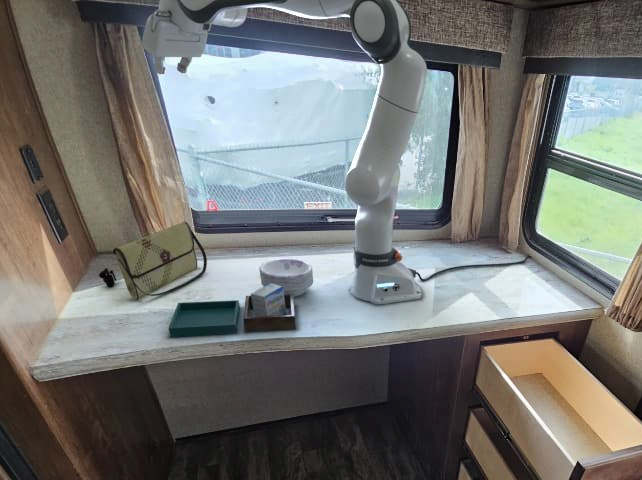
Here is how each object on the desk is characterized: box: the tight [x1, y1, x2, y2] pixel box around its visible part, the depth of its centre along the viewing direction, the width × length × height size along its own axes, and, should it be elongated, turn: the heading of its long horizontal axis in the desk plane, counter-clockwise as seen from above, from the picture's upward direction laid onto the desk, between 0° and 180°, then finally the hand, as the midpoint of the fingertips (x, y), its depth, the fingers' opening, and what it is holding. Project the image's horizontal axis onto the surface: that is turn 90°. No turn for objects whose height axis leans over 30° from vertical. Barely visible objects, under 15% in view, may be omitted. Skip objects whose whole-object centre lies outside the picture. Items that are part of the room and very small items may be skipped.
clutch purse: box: [112, 221, 208, 301], centre depth 126 cm, size 30×7×15 cm, turn 167°
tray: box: [168, 299, 241, 338], centre depth 114 cm, size 15×14×3 cm
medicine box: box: [250, 284, 287, 317], centre depth 116 cm, size 8×4×9 cm, turn 160°
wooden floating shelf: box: [242, 294, 297, 333], centre depth 118 cm, size 13×14×4 cm
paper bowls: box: [259, 258, 314, 298], centre depth 131 cm, size 15×15×8 cm
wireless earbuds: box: [98, 268, 117, 288], centre depth 124 cm, size 7×2×5 cm, turn 14°
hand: (170, 72), depth 113 cm, fingers open, 8 cm apart
